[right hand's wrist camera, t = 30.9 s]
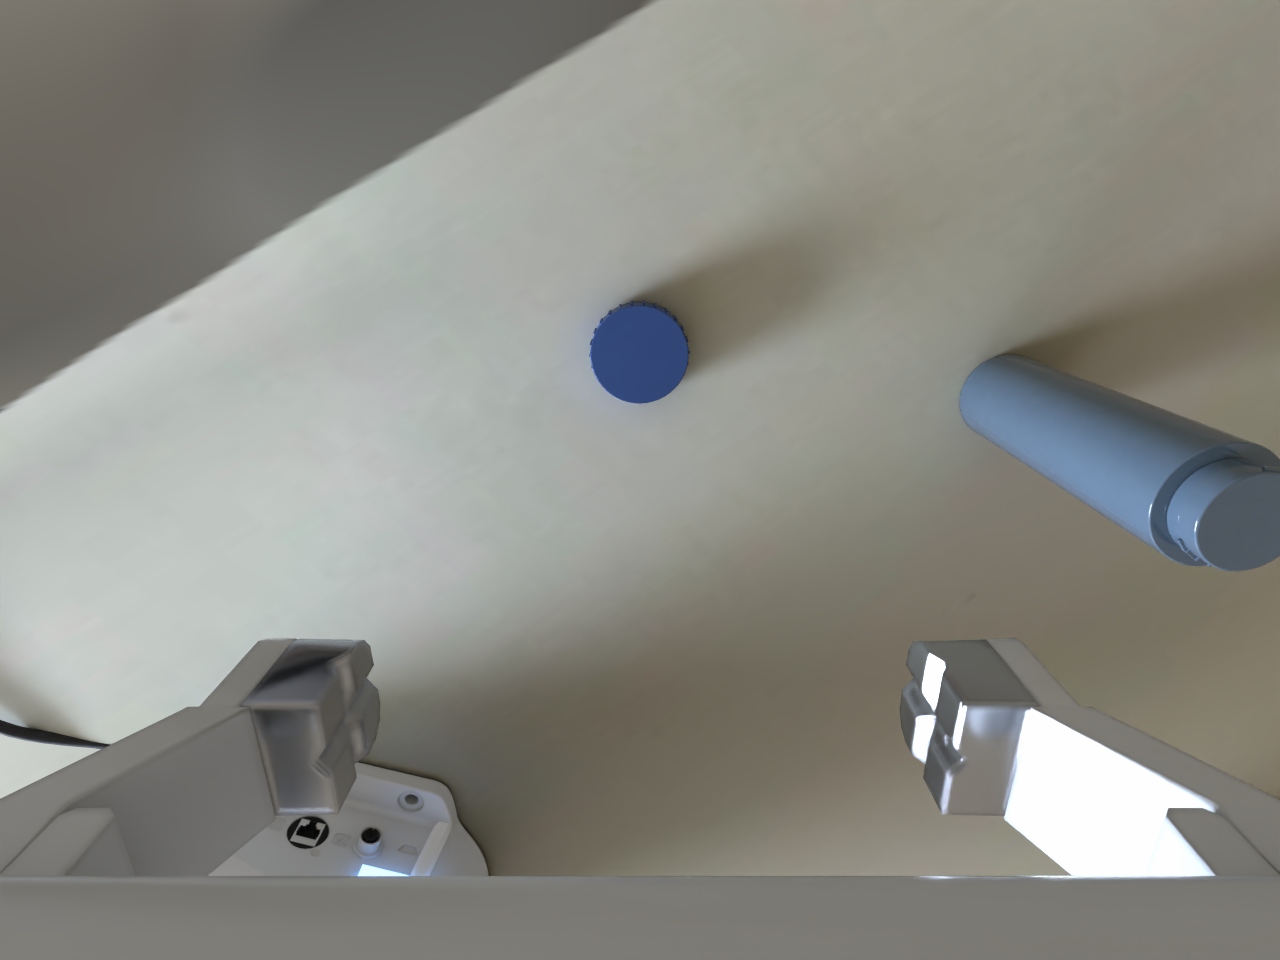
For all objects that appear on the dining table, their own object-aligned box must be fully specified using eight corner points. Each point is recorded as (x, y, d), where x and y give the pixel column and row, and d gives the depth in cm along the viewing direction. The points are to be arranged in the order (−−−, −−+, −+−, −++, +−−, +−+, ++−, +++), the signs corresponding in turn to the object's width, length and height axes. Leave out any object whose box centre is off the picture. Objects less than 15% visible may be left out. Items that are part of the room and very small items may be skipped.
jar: (1029, 441, 38) (1288, 593, 23) (949, 431, 38) (1156, 578, 23) (1056, 359, 36) (1354, 464, 21) (973, 349, 36) (1213, 447, 21)
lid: (588, 301, 35) (585, 306, 34) (687, 298, 35) (689, 302, 34) (593, 398, 37) (591, 406, 36) (688, 395, 37) (690, 403, 36)
